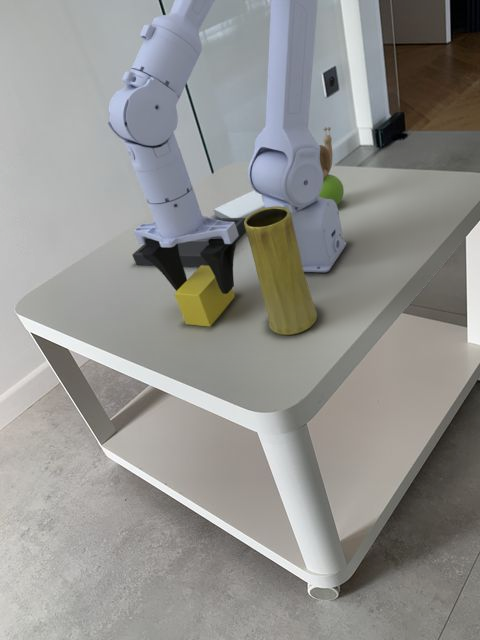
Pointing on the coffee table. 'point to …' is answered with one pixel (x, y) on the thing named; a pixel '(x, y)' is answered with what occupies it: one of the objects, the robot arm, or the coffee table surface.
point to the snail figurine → (330, 183)
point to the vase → (280, 270)
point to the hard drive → (241, 206)
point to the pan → (192, 248)
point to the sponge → (202, 298)
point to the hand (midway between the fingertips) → (204, 288)
